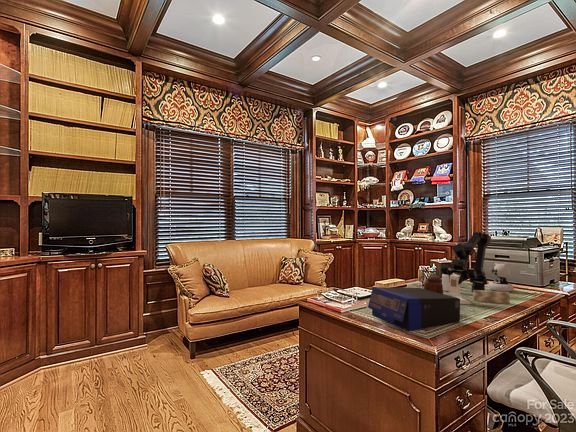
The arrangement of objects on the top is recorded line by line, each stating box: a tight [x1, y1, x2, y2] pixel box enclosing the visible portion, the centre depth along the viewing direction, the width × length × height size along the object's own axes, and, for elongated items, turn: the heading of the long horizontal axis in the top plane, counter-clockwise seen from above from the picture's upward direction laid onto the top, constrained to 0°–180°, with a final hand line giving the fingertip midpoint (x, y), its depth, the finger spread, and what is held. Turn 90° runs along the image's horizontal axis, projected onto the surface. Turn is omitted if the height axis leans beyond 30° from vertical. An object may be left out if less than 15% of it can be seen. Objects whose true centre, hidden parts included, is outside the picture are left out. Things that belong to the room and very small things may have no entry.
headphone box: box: [367, 286, 461, 332], centre depth 154 cm, size 25×35×14 cm
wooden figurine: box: [423, 274, 444, 294], centre depth 171 cm, size 12×6×18 cm, turn 32°
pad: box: [455, 296, 472, 305], centre depth 186 cm, size 12×12×1 cm
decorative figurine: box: [487, 261, 515, 293], centre depth 215 cm, size 15×15×20 cm
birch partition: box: [473, 290, 511, 304], centre depth 185 cm, size 18×2×6 cm, turn 71°
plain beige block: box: [449, 274, 461, 297], centre depth 186 cm, size 4×5×11 cm
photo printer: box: [441, 273, 458, 293], centre depth 210 cm, size 10×4×12 cm, turn 39°
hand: (454, 283), depth 185 cm, fingers closed on plain beige block, 4 cm apart
